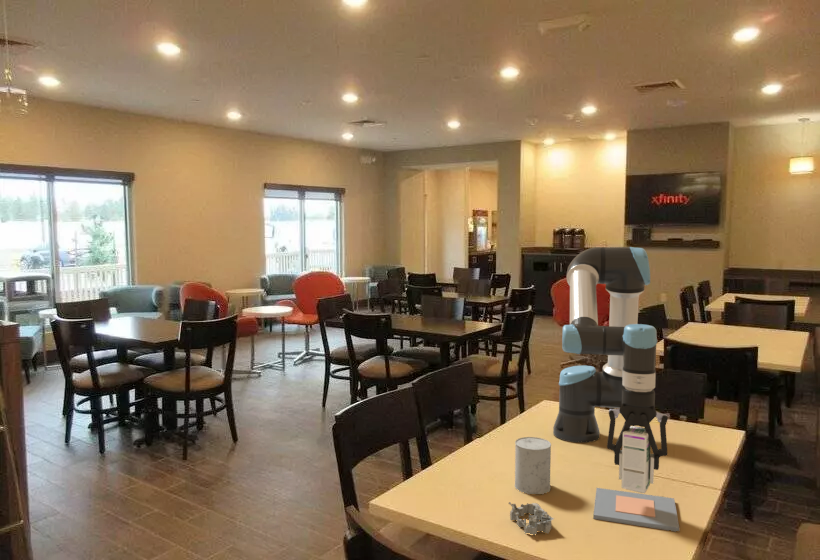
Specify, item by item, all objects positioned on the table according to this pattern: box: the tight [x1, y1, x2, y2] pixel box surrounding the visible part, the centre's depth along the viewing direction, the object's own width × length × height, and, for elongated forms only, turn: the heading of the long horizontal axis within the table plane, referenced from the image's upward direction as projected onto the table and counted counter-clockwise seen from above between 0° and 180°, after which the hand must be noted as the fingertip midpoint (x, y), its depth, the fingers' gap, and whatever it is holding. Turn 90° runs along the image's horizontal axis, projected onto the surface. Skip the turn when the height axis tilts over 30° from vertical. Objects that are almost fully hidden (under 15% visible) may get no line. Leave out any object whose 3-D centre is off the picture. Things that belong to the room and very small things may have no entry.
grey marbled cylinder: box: [514, 436, 552, 495], centre depth 161 cm, size 10×10×12 cm
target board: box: [592, 487, 680, 532], centre depth 148 cm, size 19×16×1 cm
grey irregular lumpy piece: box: [508, 501, 555, 535], centre depth 141 cm, size 11×8×4 cm
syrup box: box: [621, 426, 652, 494], centre depth 147 cm, size 6×6×14 cm
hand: (635, 479), depth 147 cm, fingers closed on syrup box, 6 cm apart
